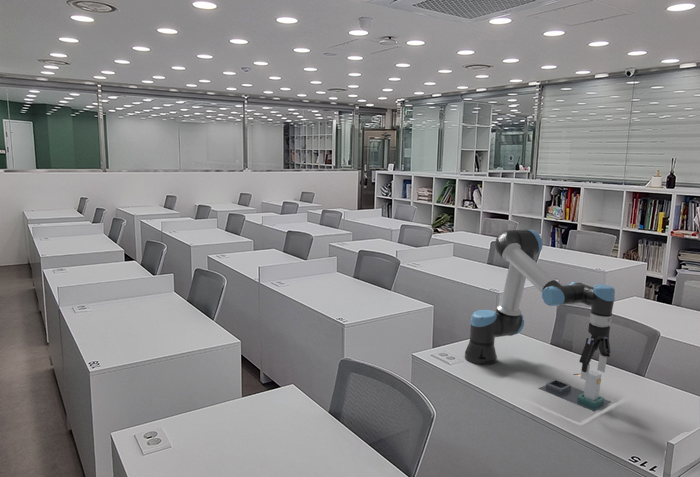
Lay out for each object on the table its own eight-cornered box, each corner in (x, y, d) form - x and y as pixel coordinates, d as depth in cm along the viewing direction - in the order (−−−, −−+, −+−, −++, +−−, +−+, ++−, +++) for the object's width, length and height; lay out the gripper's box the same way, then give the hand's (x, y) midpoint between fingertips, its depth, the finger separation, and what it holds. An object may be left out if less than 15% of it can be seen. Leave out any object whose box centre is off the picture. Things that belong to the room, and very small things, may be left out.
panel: (538, 390, 218) (538, 383, 217) (555, 382, 226) (556, 376, 226) (593, 413, 199) (594, 406, 199) (611, 404, 208) (611, 397, 207)
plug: (583, 400, 208) (586, 372, 206) (588, 398, 210) (591, 370, 208) (594, 405, 204) (597, 376, 202) (599, 402, 206) (602, 374, 205)
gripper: (593, 333, 192) (586, 386, 195) (624, 321, 207) (616, 371, 211) (574, 327, 197) (567, 379, 201) (605, 316, 213) (598, 364, 216)
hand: (592, 375), depth 206 cm, fingers open, 13 cm apart
